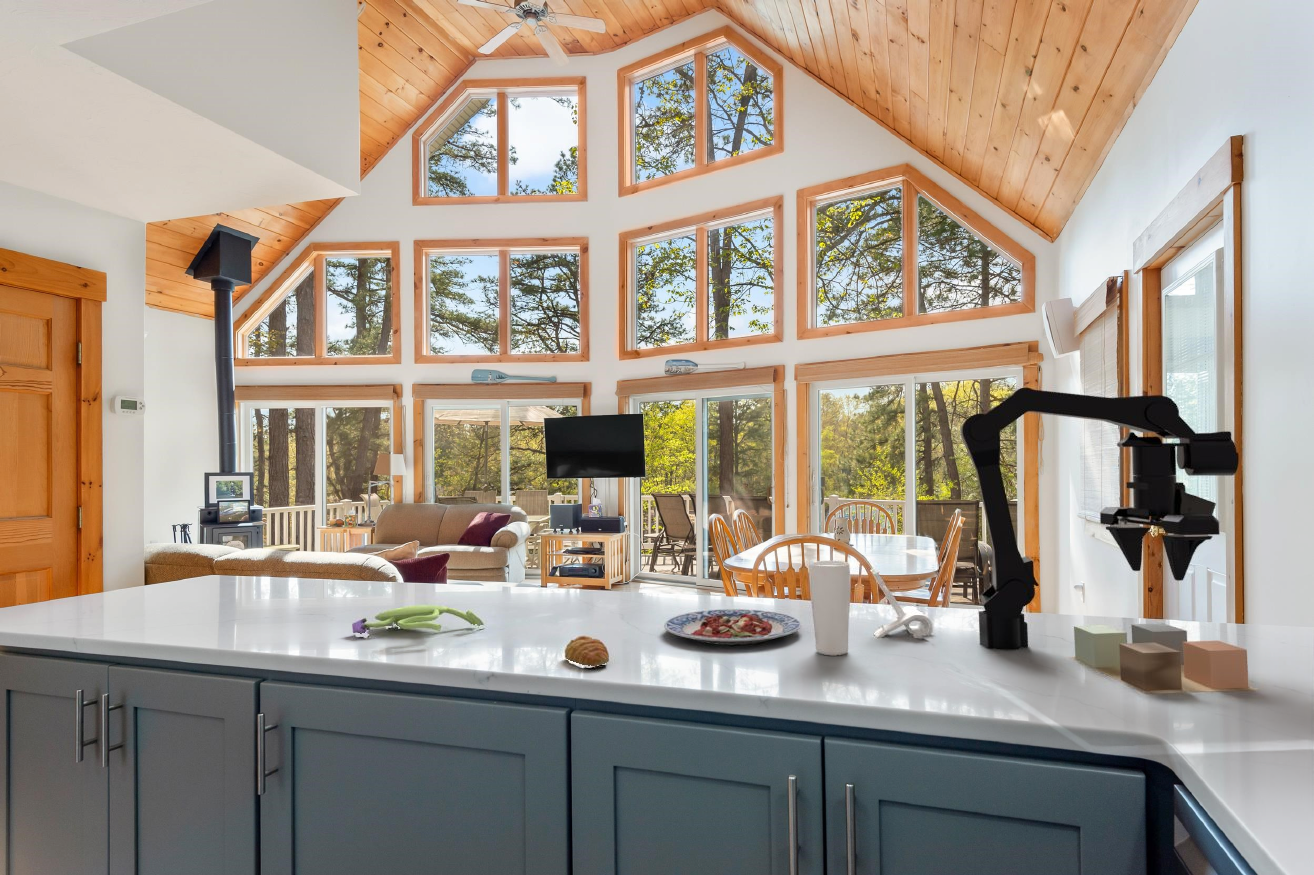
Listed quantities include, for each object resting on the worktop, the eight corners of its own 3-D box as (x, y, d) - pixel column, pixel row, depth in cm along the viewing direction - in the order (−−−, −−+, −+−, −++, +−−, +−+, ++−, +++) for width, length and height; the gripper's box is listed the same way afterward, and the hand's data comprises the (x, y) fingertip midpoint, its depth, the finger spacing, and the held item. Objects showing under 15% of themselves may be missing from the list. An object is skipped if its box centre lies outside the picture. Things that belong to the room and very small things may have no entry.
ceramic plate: (672, 619, 156) (672, 605, 156) (797, 620, 152) (797, 605, 152) (655, 651, 130) (655, 634, 130) (805, 653, 126) (804, 635, 127)
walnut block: (1144, 690, 99) (1143, 653, 99) (1120, 679, 104) (1119, 643, 104) (1182, 689, 99) (1180, 651, 99) (1156, 678, 104) (1154, 642, 104)
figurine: (421, 653, 133) (420, 622, 134) (331, 637, 148) (331, 609, 148) (495, 632, 149) (495, 604, 149) (408, 619, 163) (407, 593, 164)
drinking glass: (854, 658, 121) (850, 566, 122) (811, 657, 123) (808, 566, 123) (851, 647, 128) (848, 560, 128) (811, 647, 129) (808, 560, 130)
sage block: (1094, 667, 110) (1093, 633, 110) (1075, 658, 115) (1073, 626, 115) (1128, 666, 110) (1126, 632, 110) (1107, 657, 115) (1105, 625, 115)
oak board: (1146, 699, 98) (1146, 693, 98) (1068, 662, 116) (1068, 657, 116) (1258, 695, 98) (1258, 689, 98) (1163, 659, 116) (1163, 654, 116)
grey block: (1155, 665, 110) (1153, 631, 110) (1132, 656, 115) (1131, 624, 115) (1188, 664, 110) (1186, 630, 110) (1164, 655, 115) (1163, 623, 115)
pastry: (619, 667, 120) (618, 644, 120) (579, 674, 117) (579, 650, 117) (597, 654, 129) (597, 632, 129) (560, 660, 126) (560, 638, 126)
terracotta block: (1211, 688, 99) (1209, 650, 99) (1184, 677, 104) (1182, 641, 104) (1248, 687, 99) (1246, 649, 99) (1219, 676, 104) (1217, 640, 104)
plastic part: (932, 639, 133) (931, 574, 133) (875, 638, 135) (874, 573, 135) (924, 629, 141) (922, 567, 141) (870, 628, 142) (868, 567, 142)
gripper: (1253, 477, 108) (1257, 584, 108) (1160, 473, 127) (1162, 565, 126) (1180, 477, 107) (1183, 586, 107) (1097, 474, 126) (1099, 567, 126)
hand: (1156, 575), depth 117 cm, fingers open, 9 cm apart
